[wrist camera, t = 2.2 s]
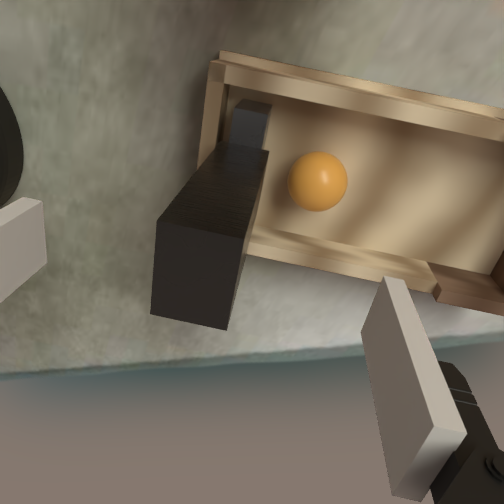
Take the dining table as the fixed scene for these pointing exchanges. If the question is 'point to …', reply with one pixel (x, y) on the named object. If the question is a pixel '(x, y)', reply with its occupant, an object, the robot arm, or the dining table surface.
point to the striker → (212, 226)
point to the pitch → (374, 178)
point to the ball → (317, 181)
